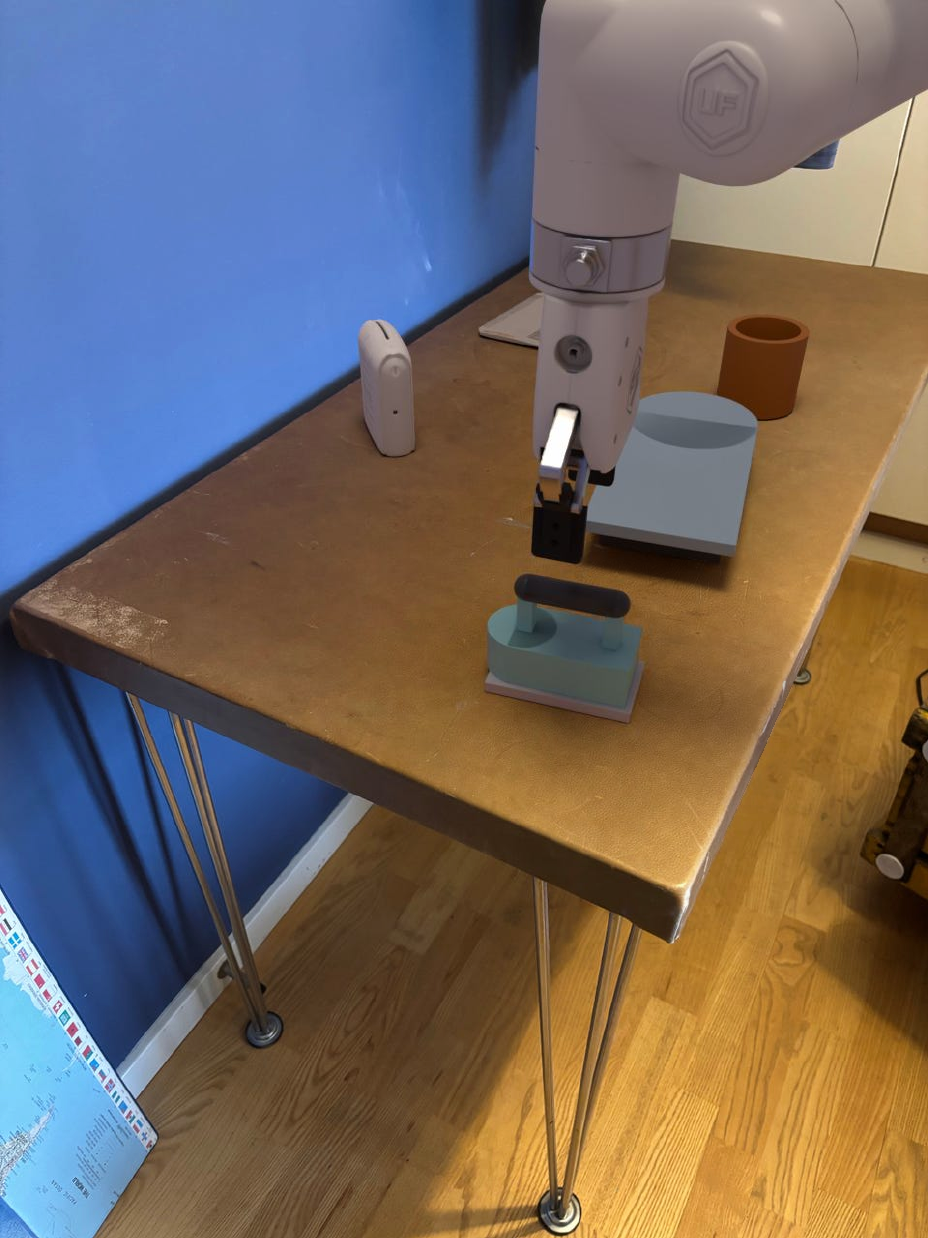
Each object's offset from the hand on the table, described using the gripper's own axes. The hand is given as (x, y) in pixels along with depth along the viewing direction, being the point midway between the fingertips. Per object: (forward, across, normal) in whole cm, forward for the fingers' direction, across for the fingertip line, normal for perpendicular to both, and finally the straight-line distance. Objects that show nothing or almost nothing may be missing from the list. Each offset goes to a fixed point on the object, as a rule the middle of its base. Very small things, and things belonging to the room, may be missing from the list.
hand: (574, 517), depth 61 cm
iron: (+15, 0, 0) cm, 15 cm away
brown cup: (+15, +55, -10) cm, 58 cm away
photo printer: (+15, +33, +28) cm, 46 cm away
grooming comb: (+15, +71, +21) cm, 75 cm away
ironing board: (+15, +29, -4) cm, 33 cm away
